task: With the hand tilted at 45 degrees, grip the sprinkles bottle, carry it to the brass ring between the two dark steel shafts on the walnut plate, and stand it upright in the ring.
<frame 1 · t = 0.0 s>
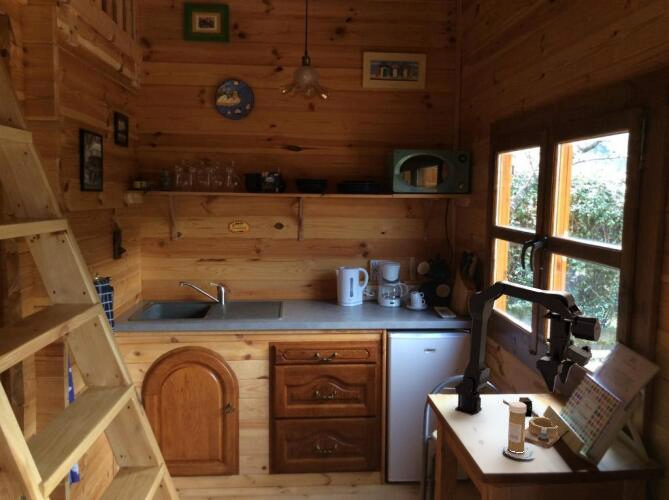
hand: (557, 387, 162), 15 cm above the table, tool pointing down, fingers open, 9 cm apart
black angular piece: (525, 413, 183), on the table
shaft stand: (544, 433, 165), on the table
sprinkles bottle: (515, 451, 154), on the table
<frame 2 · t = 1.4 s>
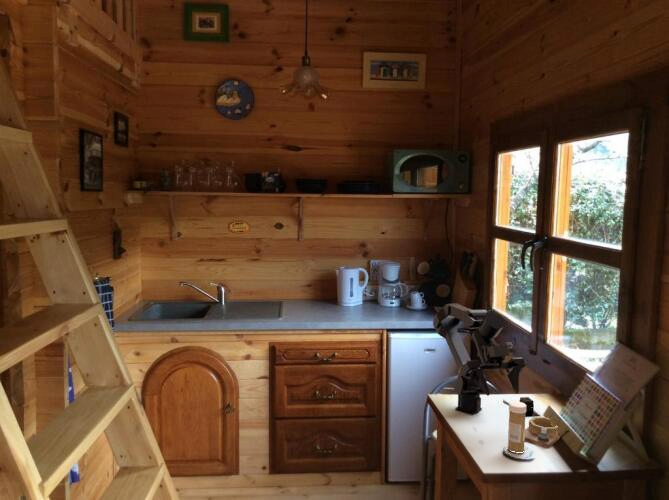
hand: (503, 393, 161), 13 cm above the table, tool tilted 45°, fingers open, 9 cm apart
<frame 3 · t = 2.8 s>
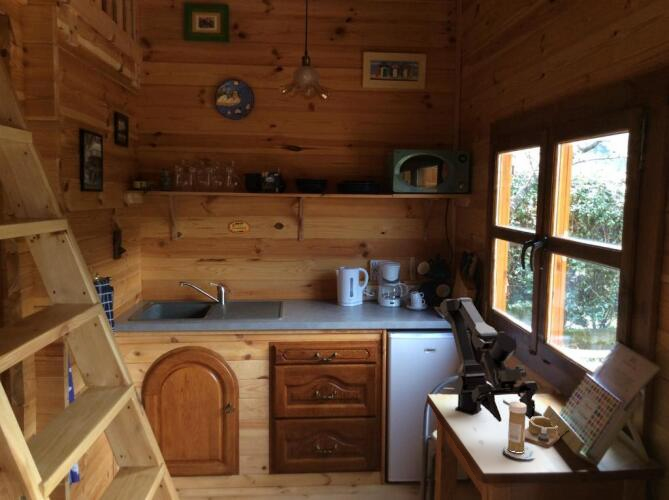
hand: (515, 419, 154), 8 cm above the table, tool tilted 45°, fingers open, 9 cm apart
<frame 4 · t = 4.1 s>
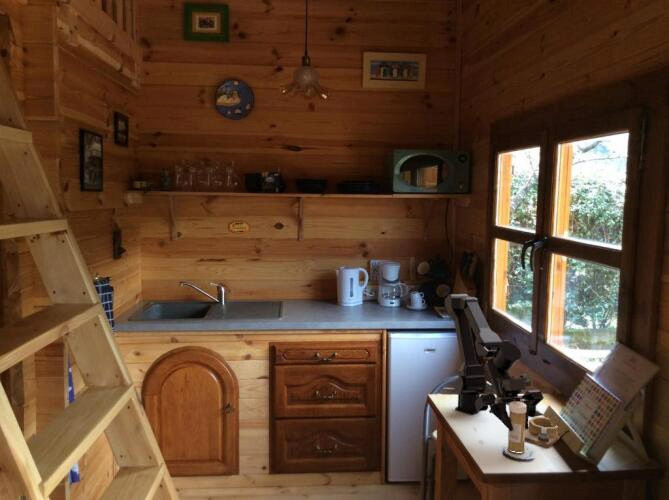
hand: (519, 429, 152), 7 cm above the table, tool tilted 45°, fingers closed on sprinkles bottle, 4 cm apart
sprinkles bottle: (515, 451, 154), on the table, touching gripper
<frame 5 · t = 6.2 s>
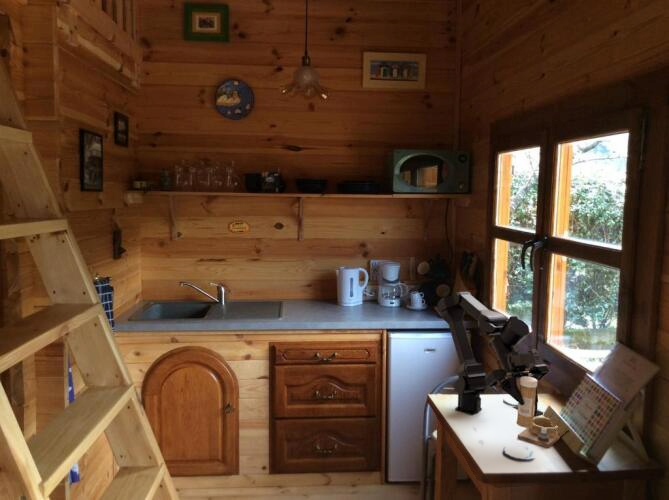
hand: (530, 403, 154), 13 cm above the table, tool tilted 45°, fingers closed on sprinkles bottle, 4 cm apart
sprinkles bottle: (524, 425, 156), point 6 cm above the table, touching gripper
when the fingers open (9 cm above the table, at t = 8.6 s): sprinkles bottle drops 1 cm, resting on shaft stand.
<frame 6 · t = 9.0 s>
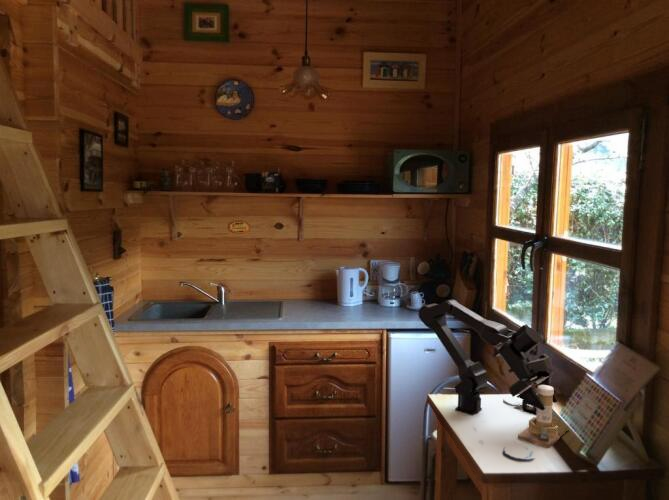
hand: (550, 405, 163), 9 cm above the table, tool tilted 45°, fingers open, 8 cm apart
sprinkles bottle: (543, 431, 165), point 1 cm above the table, touching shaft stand
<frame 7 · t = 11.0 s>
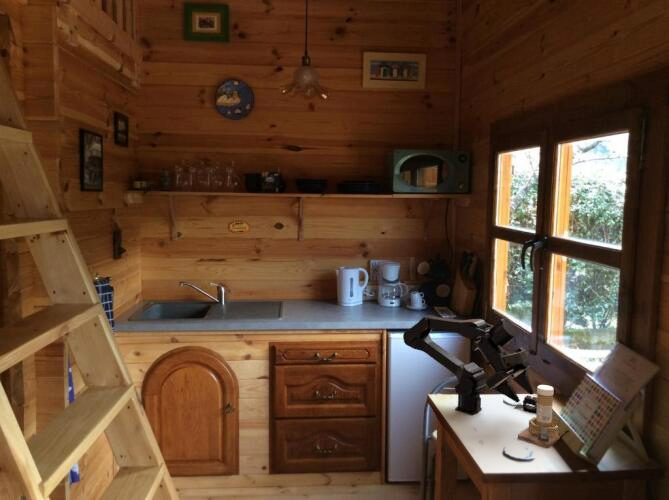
hand: (525, 397, 168), 9 cm above the table, tool tilted 45°, fingers open, 9 cm apart
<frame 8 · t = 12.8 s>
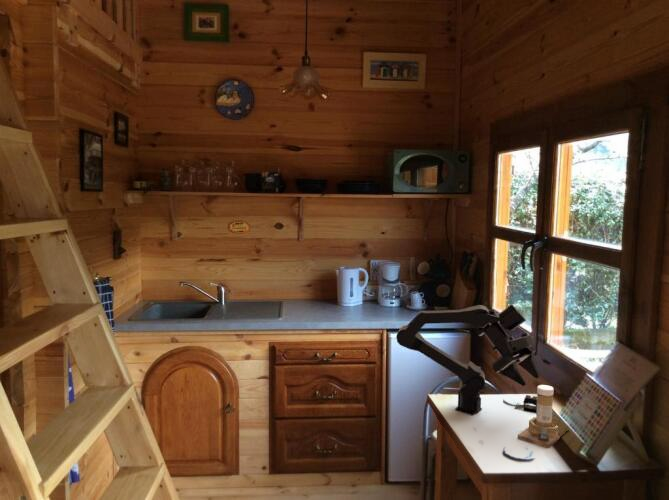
hand: (531, 381, 171), 14 cm above the table, tool tilted 45°, fingers open, 9 cm apart
at the end: sprinkles bottle 0.3 cm off-centre on the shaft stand, point 0.8 cm above the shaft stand's base; sprinkles bottle tilted 0°; the gripper is holding nothing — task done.
